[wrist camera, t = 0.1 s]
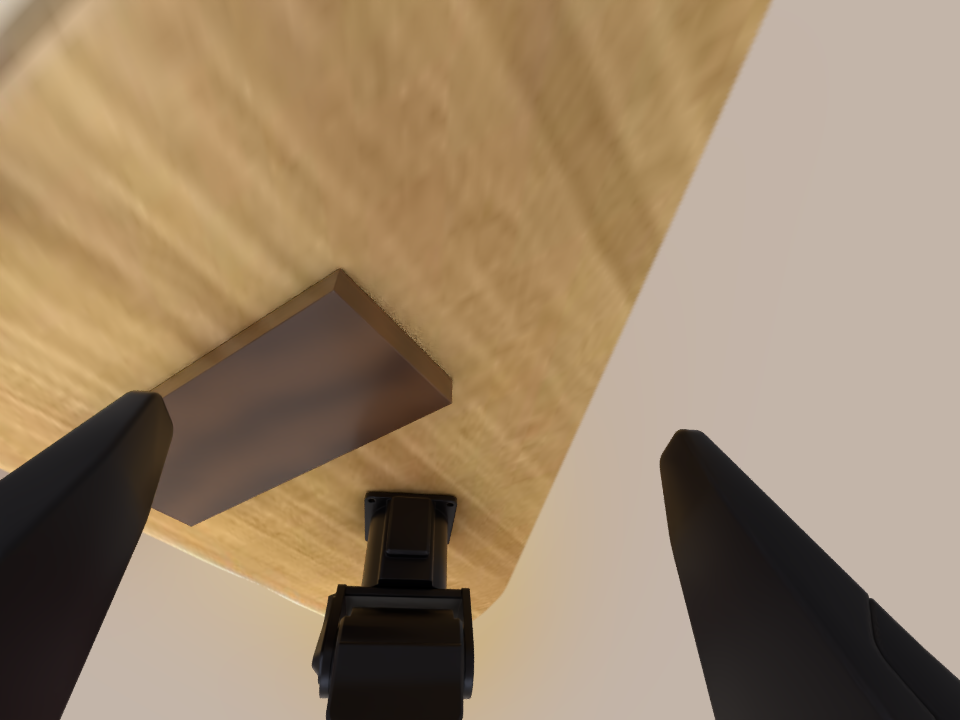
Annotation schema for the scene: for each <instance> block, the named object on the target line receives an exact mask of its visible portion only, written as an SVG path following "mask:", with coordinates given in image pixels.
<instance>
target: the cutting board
mask: <svg viewBox="0 0 960 720" xmlns="http://www.w3.org/2000/svg"><path fill="white" fill-rule="evenodd" d="M150 392H157V393H159V394H160V395H161V396H162V398H163V400H164V403H165V405H166V408H167V410H168V413H169V415H170V418H171V420H172V423H173V437H172V441H171V444H170V447H169V450H168V454H167V457H166V460H165V464H164V467H163V470H162V474H161V477H160V480H159V483H158V487H157V490H156V493H155V497H154V500H153V503H152V507H151V508H153V509H155V510H157V511H159V512H162V513H164V514H166V515H168V516H170V517H172V518H174V519H176V520H179V521H181V522H183V523H185V524H187V525H189V526H194V525H196V524H198V523H200V522H202V521H204V520H206V519H208V518H211V517H213V516H215V515H217V514H219V513H221V512H223V511H225V510H227V509H230V508H232V507H234V506H236V505H238V504H240V503H242V502H244V501H247V500H249V499H251V498H253V497H255V496H257V495H259V494H261V493H263V492H266V491H268V490H270V489H272V488H274V487H276V486H278V485H280V484H282V483H285V482H287V481H289V480H291V479H293V478H295V477H297V476H299V475H302V474H304V473H306V472H308V471H310V470H312V469H314V468H316V467H318V466H321V465H323V464H325V463H327V462H329V461H331V460H333V459H335V458H337V457H340V456H342V455H344V454H346V453H348V452H350V451H352V450H354V449H357V448H359V447H361V446H363V445H365V444H367V443H369V442H371V441H373V440H376V439H378V438H380V437H382V436H384V435H386V434H388V433H390V432H392V431H395V430H397V429H399V428H401V427H403V426H405V425H407V424H409V423H412V422H414V421H416V420H418V419H420V418H422V417H424V416H426V415H428V414H431V413H433V412H435V411H437V410H439V409H441V408H443V407H445V406H447V405H450V404H451V403H452V379H451V378H450V377H449V376H448V375H447V374H446V373H445V372H444V371H443V370H442V369H441V368H440V367H439V366H438V365H437V364H436V363H435V362H434V361H433V360H432V359H431V358H430V357H429V356H428V355H427V354H426V353H425V352H424V351H423V350H422V349H421V348H420V347H419V346H418V345H417V344H416V343H415V342H414V341H413V340H412V339H411V338H410V337H409V336H408V335H407V334H406V333H405V332H404V331H403V330H402V329H401V328H400V327H399V326H398V325H397V324H396V323H395V322H394V321H393V320H392V319H391V318H390V317H389V316H388V315H387V314H386V313H385V312H384V311H383V310H382V309H381V308H380V307H379V306H378V305H377V304H376V303H375V302H374V301H373V300H372V299H371V298H370V297H369V296H368V295H367V294H366V293H365V292H363V291H362V290H361V289H360V288H359V287H358V286H357V285H356V284H355V283H354V282H353V281H352V280H351V279H350V278H349V277H348V276H347V275H346V274H345V273H344V272H343V271H342V270H341V269H338V270H337V271H335V272H334V273H332V274H330V275H329V276H327V277H326V278H324V279H323V280H321V281H320V282H318V283H316V284H315V285H313V286H312V287H310V288H309V289H307V290H306V291H304V292H303V293H301V294H299V295H298V296H296V297H295V298H293V299H292V300H290V301H289V302H287V303H286V304H284V305H282V306H281V307H279V308H278V309H276V310H275V311H273V312H272V313H270V314H269V315H267V316H265V317H264V318H262V319H261V320H259V321H258V322H256V323H255V324H253V325H252V326H250V327H248V328H247V329H245V330H244V331H242V332H241V333H239V334H238V335H236V336H235V337H233V338H231V339H230V340H228V341H227V342H225V343H224V344H222V345H221V346H219V347H218V348H216V349H214V350H213V351H211V352H210V353H208V354H207V355H205V356H204V357H202V358H201V359H199V360H197V361H196V362H194V363H193V364H191V365H190V366H188V367H187V368H185V369H184V370H182V371H180V372H179V373H177V374H176V375H174V376H173V377H171V378H170V379H168V380H167V381H165V382H163V383H162V384H160V385H159V386H157V387H156V388H154V389H153V390H151V391H150Z"/></svg>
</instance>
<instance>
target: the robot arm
mask: <svg viewBox="0 0 960 720" xmlns="http://www.w3.org/2000/svg"><path fill="white" fill-rule="evenodd" d="M172 437H173V423H172V420H171V418H170V415H169V413H168V410H167V408H166V405H165V403H164V400H163V398H162V396H161V395H160V394H159V393H157V392H150V391H130V392H128V393H126V394H124V395H123V396H122V397H120V398H119V399H117V400H116V401H114V402H113V403H111V404H110V405H109V406H107V407H106V408H104V409H103V410H101V411H100V412H98V413H97V414H96V415H94V416H93V417H91V418H90V419H88V420H87V421H85V422H84V423H82V424H81V425H80V426H78V427H77V428H75V429H74V430H72V431H71V432H69V433H68V434H67V435H65V436H64V437H62V438H61V439H59V440H58V441H56V442H55V443H54V444H52V445H51V446H49V447H48V448H46V449H45V450H43V451H42V452H41V453H39V454H38V455H36V456H35V457H33V458H32V459H30V460H29V461H27V462H26V463H25V464H23V465H22V466H20V467H19V468H17V469H16V470H14V471H13V472H12V473H10V474H9V475H7V476H6V477H5V478H3V479H1V480H0V720H60V719H61V716H62V714H63V711H64V709H65V707H66V705H67V703H68V700H69V698H70V696H71V694H72V691H73V689H74V687H75V684H76V682H77V680H78V677H79V675H80V673H81V671H82V668H83V666H84V664H85V662H86V659H87V657H88V655H89V652H90V650H91V648H92V646H93V643H94V641H95V638H96V636H97V634H98V632H99V630H100V627H101V625H102V623H103V620H104V618H105V616H106V613H107V611H108V609H109V607H110V605H111V602H112V600H113V598H114V595H115V593H116V591H117V588H118V586H119V584H120V582H121V579H122V577H123V575H124V572H125V570H126V568H127V566H128V563H129V561H130V559H131V557H132V554H133V552H134V550H135V547H136V545H137V543H138V541H139V538H140V536H141V534H142V531H143V529H144V526H145V524H146V521H147V519H148V516H149V513H150V510H151V507H152V503H153V500H154V497H155V493H156V490H157V487H158V483H159V480H160V477H161V474H162V470H163V467H164V464H165V460H166V457H167V454H168V450H169V447H170V444H171V441H172ZM660 473H661V480H662V487H663V495H664V502H665V508H666V516H667V523H668V530H669V536H670V542H671V546H672V551H673V555H674V559H675V563H676V567H677V571H678V575H679V579H680V583H681V587H682V591H683V595H684V599H685V603H686V606H687V610H688V614H689V618H690V622H691V626H692V630H693V634H694V638H695V642H696V646H697V650H698V654H699V658H700V661H701V665H702V669H703V673H704V677H705V681H706V685H707V689H708V693H709V696H710V701H711V705H712V709H713V712H714V716H715V720H960V680H959V679H958V678H957V677H956V676H955V675H953V674H952V673H951V672H950V671H949V670H948V669H947V668H946V667H945V666H943V665H942V664H941V663H940V662H939V661H938V660H937V659H936V658H935V657H933V656H932V655H931V654H930V653H929V652H928V651H927V650H926V649H924V648H923V647H922V646H921V645H920V644H919V643H918V642H917V641H916V640H915V639H914V638H913V637H912V636H911V635H910V634H909V633H908V632H907V631H906V630H905V629H903V627H901V626H900V625H899V624H898V623H897V622H896V621H895V620H894V619H893V618H892V617H891V616H890V615H889V614H888V613H887V612H886V611H885V610H884V609H883V608H882V607H881V606H880V605H879V604H878V603H877V602H876V601H875V600H874V599H872V598H869V596H868V594H867V593H866V592H865V591H864V590H863V589H862V588H861V587H860V586H859V585H858V584H857V583H856V582H855V581H854V580H853V579H852V578H851V577H850V576H849V575H848V574H847V573H846V572H845V571H844V570H843V569H842V568H841V567H840V566H839V565H838V564H837V563H836V562H835V561H834V560H833V559H831V557H830V556H828V554H827V553H825V552H824V550H823V549H821V548H820V547H819V546H818V545H817V544H816V543H815V542H814V541H813V540H812V539H811V538H810V537H809V536H808V535H807V534H806V533H805V532H804V531H803V530H802V529H801V528H800V527H799V526H798V525H797V524H796V523H795V522H794V521H793V520H792V519H791V518H790V517H789V516H788V515H787V514H786V513H785V512H784V511H783V510H782V509H781V508H780V507H779V506H778V505H777V504H776V503H775V502H774V501H773V500H772V499H771V498H770V497H768V496H767V495H766V494H765V493H764V492H763V491H762V490H761V489H760V488H759V487H758V486H757V485H756V484H755V483H754V482H753V481H752V480H751V479H750V478H749V477H748V476H747V475H746V474H745V473H744V472H743V471H742V470H741V469H740V468H739V467H738V466H737V465H736V464H735V463H734V462H733V461H732V460H731V459H730V458H729V457H728V456H727V455H726V454H725V453H723V451H722V450H720V448H718V446H716V445H715V444H714V443H713V442H712V441H711V440H710V439H709V438H708V437H707V436H706V435H705V434H704V433H703V432H701V431H698V430H687V429H680V430H678V431H677V432H676V433H675V434H674V436H673V437H672V439H671V440H670V442H669V444H668V445H667V447H666V448H665V450H664V452H663V453H662V455H661V458H660ZM456 507H457V499H456V497H453V496H440V495H421V494H401V493H382V492H369V493H367V494H366V495H365V540H366V541H367V550H366V557H365V564H364V572H363V579H362V586H347V585H345V584H338V587H337V592H336V593H335V594H333V595H330V596H329V597H328V603H327V608H326V614H325V619H324V623H323V627H322V630H321V633H320V637H319V640H318V643H317V646H316V650H315V653H314V656H313V661H312V668H313V669H314V671H315V672H316V673H317V675H318V684H320V687H319V695H320V698H328V704H327V710H326V720H462V718H463V699H469V698H471V695H472V688H473V677H474V641H473V628H472V614H471V601H470V589H469V588H461V589H446V587H447V544H449V541H450V536H451V531H452V527H453V522H454V517H455V512H456Z"/></svg>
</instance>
